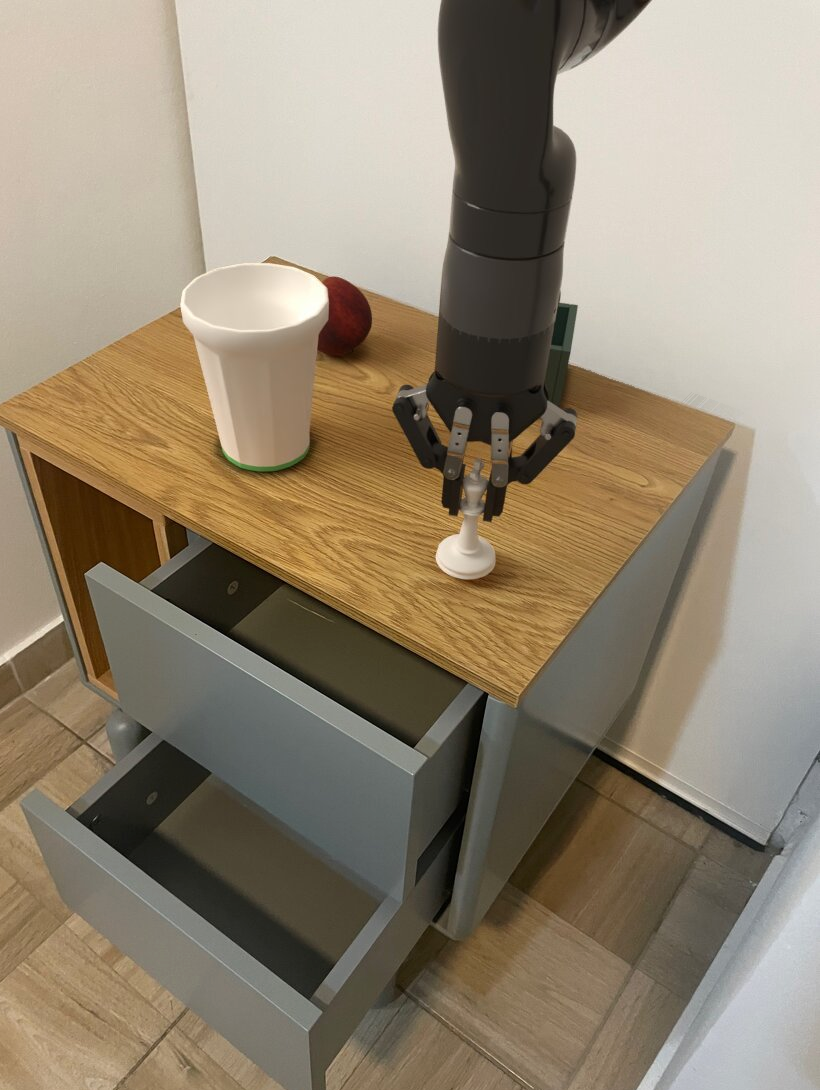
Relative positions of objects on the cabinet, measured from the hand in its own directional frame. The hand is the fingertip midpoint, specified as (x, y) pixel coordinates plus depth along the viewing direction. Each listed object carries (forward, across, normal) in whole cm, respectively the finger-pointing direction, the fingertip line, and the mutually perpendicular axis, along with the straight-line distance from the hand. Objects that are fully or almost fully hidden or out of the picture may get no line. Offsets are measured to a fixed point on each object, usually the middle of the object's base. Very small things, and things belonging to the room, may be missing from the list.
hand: (472, 511), depth 69 cm
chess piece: (+5, 0, 0) cm, 5 cm away
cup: (+6, -21, +12) cm, 25 cm away
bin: (+6, +1, +29) cm, 30 cm away
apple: (+6, -19, +31) cm, 37 cm away
